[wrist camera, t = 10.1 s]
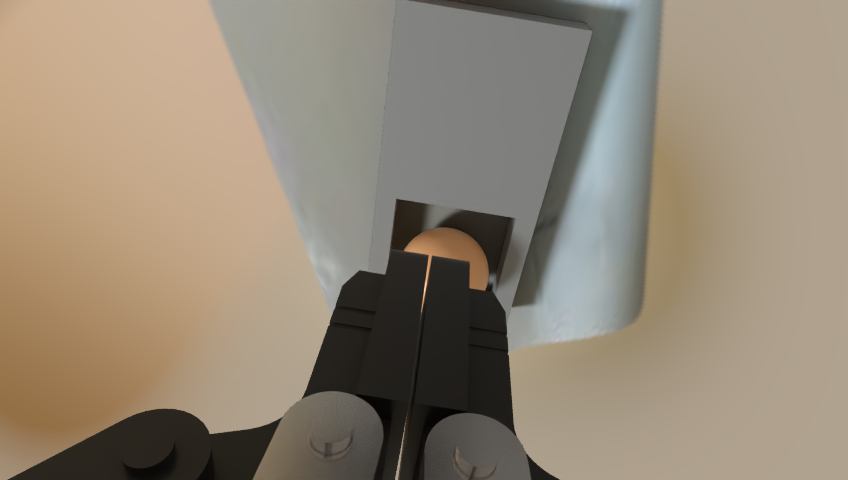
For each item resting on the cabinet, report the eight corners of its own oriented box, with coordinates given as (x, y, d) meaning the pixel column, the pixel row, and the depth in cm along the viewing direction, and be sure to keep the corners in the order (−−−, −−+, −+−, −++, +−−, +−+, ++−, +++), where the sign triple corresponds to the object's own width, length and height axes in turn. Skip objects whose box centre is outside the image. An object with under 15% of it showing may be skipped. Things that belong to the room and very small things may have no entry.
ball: (390, 297, 37) (390, 318, 44) (490, 314, 37) (475, 332, 44) (407, 205, 39) (405, 238, 46) (501, 222, 39) (485, 252, 46)
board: (401, -8, 34) (396, -2, 32) (585, 23, 34) (592, 31, 32) (369, 286, 47) (364, 304, 45) (504, 308, 47) (505, 327, 45)
